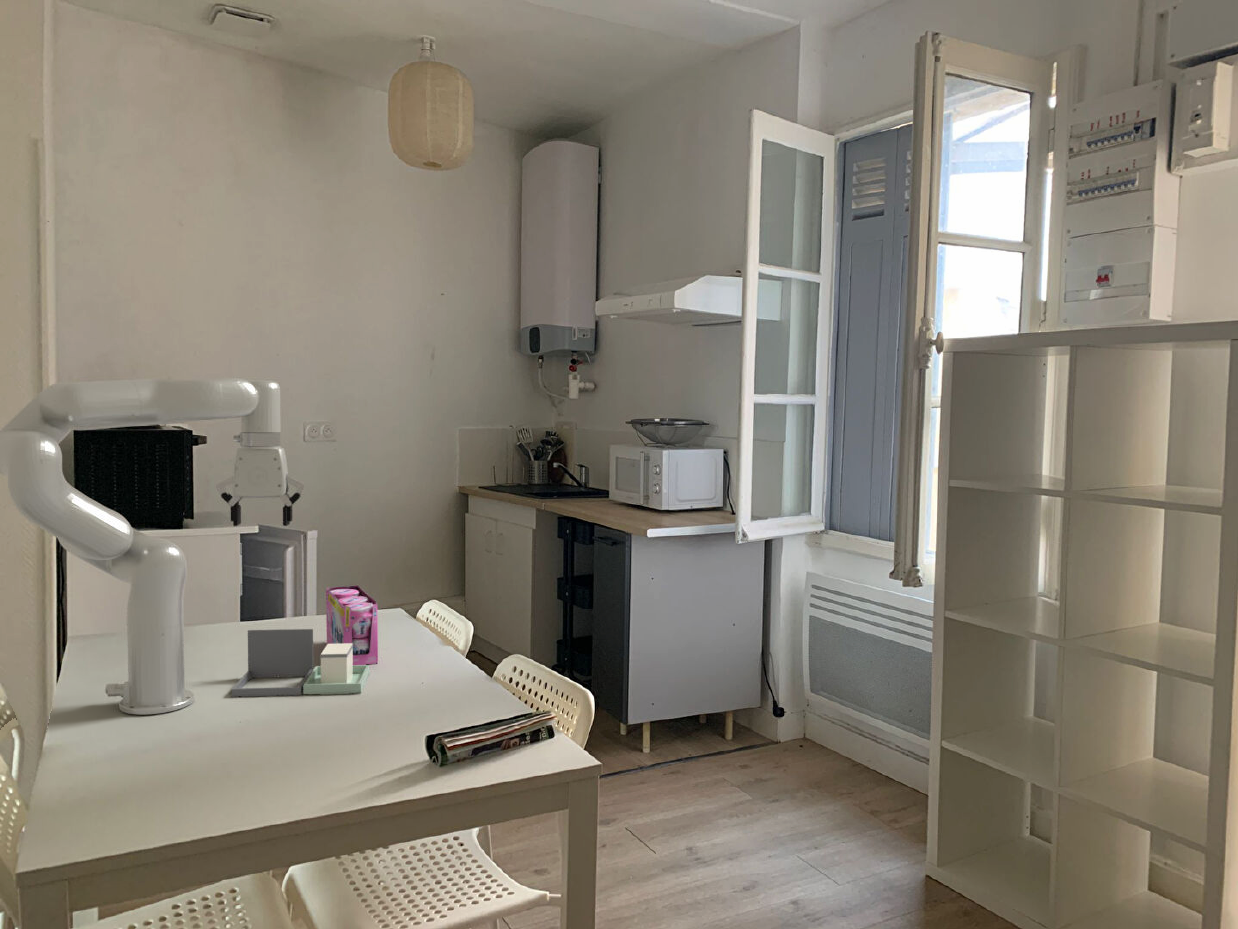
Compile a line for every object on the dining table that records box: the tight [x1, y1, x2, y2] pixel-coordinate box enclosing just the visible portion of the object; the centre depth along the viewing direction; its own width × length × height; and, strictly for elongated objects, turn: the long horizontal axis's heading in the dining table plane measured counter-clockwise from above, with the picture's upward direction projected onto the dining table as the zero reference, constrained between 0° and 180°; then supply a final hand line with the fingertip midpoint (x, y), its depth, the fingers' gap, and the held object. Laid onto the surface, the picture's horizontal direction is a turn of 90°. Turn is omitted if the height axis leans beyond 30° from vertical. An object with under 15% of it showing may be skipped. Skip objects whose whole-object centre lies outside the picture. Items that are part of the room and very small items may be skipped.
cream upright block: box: [319, 643, 353, 684], centre depth 188 cm, size 5×8×7 cm, turn 8°
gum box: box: [325, 585, 379, 665], centre depth 211 cm, size 24×8×14 cm, turn 27°
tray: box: [302, 664, 370, 695], centre depth 189 cm, size 11×13×2 cm
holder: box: [230, 628, 314, 698], centre depth 187 cm, size 13×13×10 cm
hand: (261, 525), depth 188 cm, fingers open, 9 cm apart
